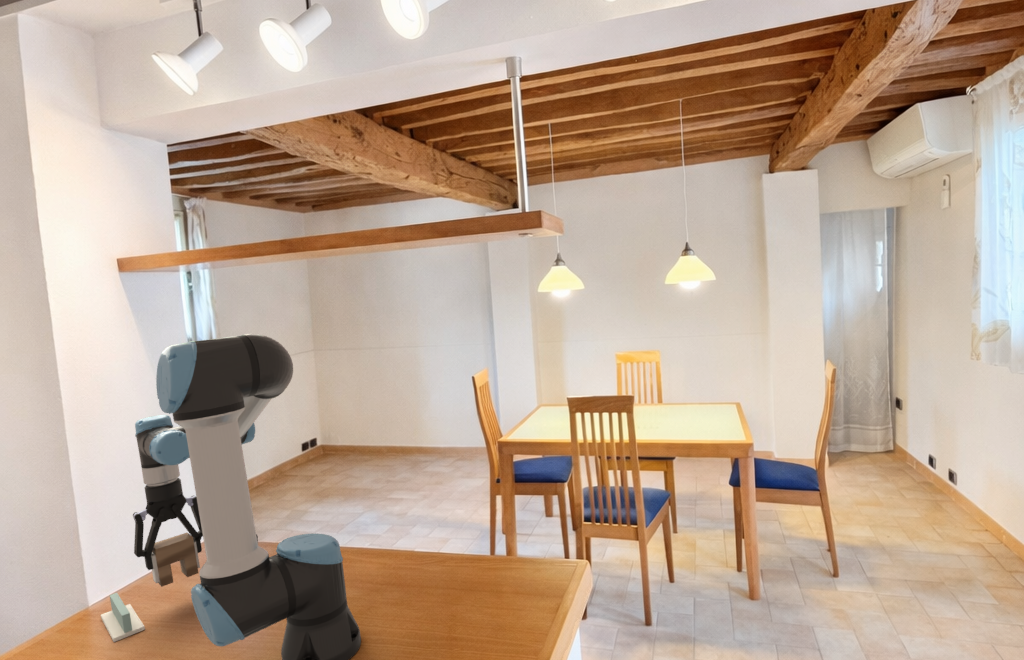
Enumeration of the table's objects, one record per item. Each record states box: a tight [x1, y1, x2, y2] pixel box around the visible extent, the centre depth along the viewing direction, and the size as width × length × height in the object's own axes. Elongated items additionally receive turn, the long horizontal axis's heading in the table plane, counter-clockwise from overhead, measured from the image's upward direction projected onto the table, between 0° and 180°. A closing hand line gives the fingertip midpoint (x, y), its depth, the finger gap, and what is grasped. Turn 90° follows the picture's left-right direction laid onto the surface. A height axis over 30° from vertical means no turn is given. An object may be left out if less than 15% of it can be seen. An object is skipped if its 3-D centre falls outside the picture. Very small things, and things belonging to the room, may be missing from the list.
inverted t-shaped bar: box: [100, 592, 146, 643], centre depth 141 cm, size 15×6×5 cm, turn 43°
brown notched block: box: [152, 532, 199, 587], centre depth 147 cm, size 5×8×9 cm, turn 133°
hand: (177, 573), depth 147 cm, fingers closed on brown notched block, 8 cm apart
